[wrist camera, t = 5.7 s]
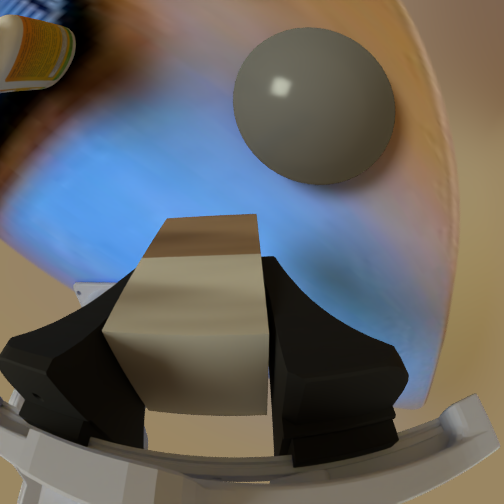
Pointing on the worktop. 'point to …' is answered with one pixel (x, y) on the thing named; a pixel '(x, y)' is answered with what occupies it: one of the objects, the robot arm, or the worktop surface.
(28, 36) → the supplement bottle
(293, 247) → the worktop surface
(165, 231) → the block
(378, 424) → the robot arm
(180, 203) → the worktop surface
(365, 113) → the stand
